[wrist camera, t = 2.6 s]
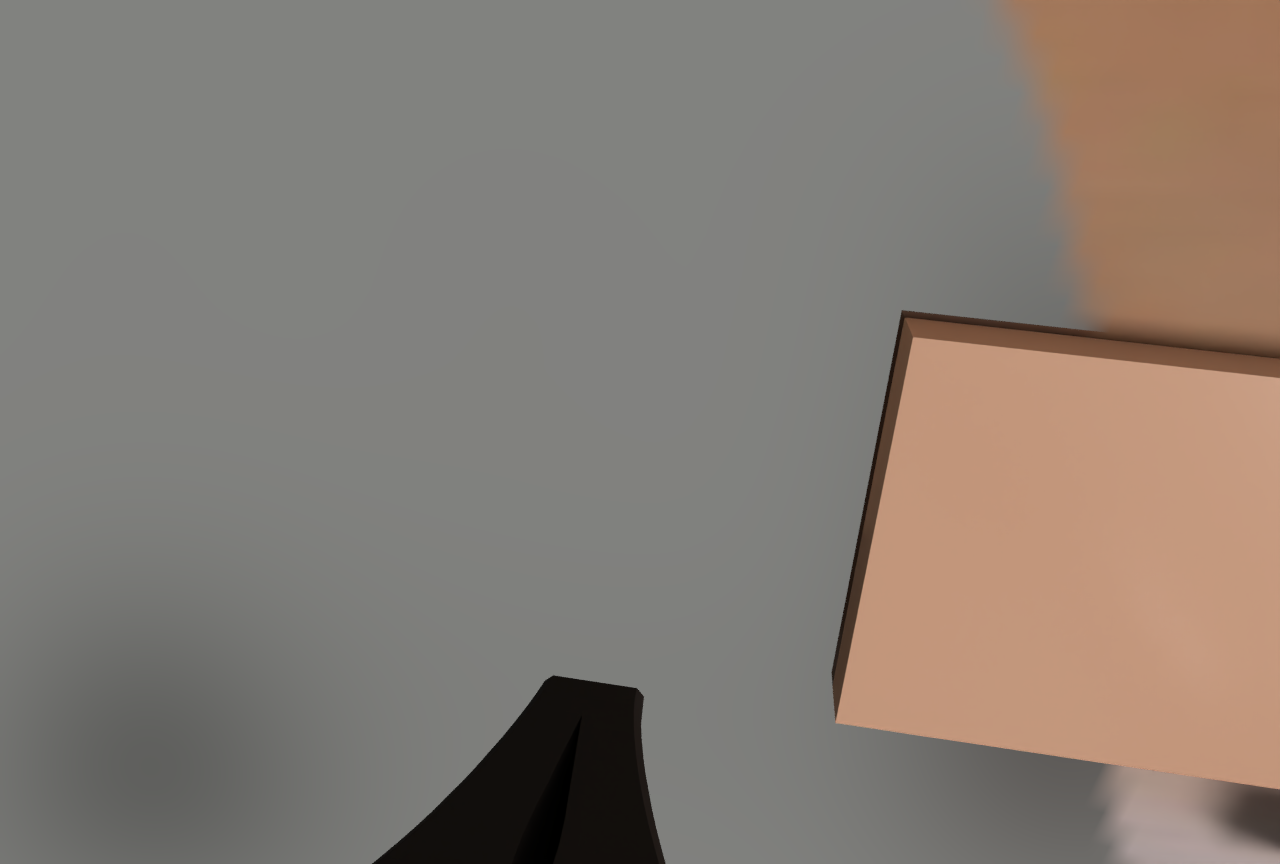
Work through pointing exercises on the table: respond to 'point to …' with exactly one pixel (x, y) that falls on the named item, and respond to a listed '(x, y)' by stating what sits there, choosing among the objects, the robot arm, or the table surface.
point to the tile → (1071, 551)
